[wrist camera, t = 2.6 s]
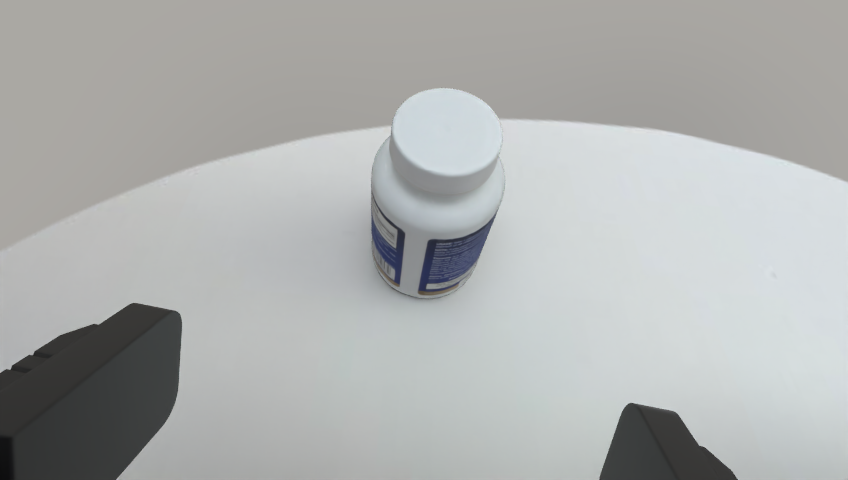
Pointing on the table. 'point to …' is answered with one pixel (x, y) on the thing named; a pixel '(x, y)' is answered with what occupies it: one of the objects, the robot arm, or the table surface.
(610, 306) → the table surface
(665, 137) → the table surface
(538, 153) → the table surface
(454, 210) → the pill bottle
